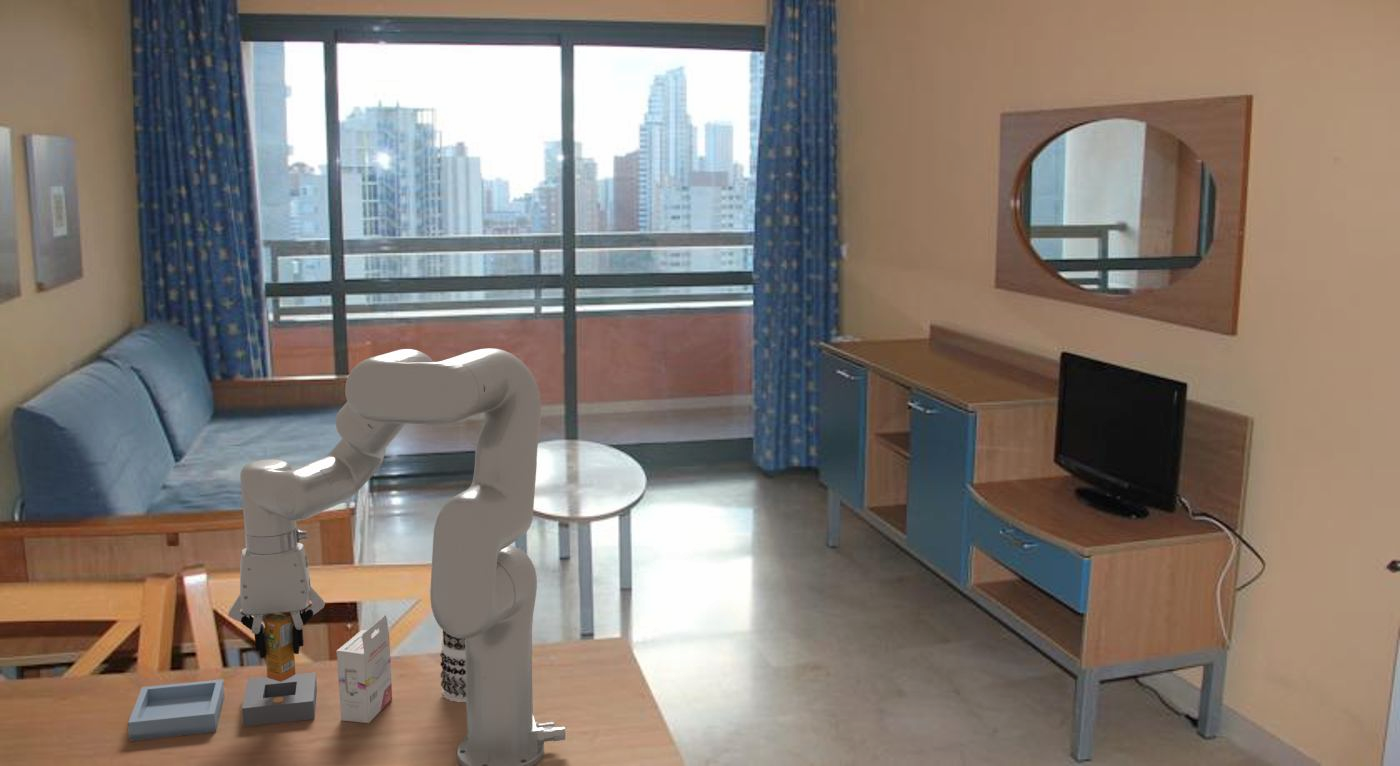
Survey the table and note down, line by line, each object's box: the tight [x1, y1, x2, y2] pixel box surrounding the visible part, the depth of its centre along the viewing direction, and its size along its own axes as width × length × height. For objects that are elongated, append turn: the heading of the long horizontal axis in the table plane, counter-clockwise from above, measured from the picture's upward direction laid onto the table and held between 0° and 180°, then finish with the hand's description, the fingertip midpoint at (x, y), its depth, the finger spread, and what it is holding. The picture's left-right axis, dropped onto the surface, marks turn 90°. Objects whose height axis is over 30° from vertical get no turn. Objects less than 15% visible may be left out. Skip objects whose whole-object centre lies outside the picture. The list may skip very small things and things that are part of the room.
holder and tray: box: [127, 671, 318, 741], centre depth 189 cm, size 26×12×3 cm, turn 105°
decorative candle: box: [439, 627, 466, 703], centre depth 195 cm, size 9×9×25 cm
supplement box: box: [263, 613, 296, 682], centre depth 189 cm, size 3×3×10 cm
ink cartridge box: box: [336, 615, 393, 724], centre depth 189 cm, size 9×5×15 cm, turn 168°
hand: (280, 651), depth 189 cm, fingers closed on supplement box, 4 cm apart
